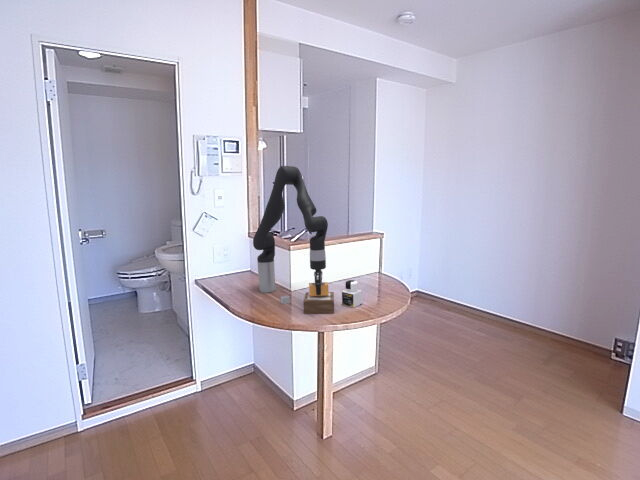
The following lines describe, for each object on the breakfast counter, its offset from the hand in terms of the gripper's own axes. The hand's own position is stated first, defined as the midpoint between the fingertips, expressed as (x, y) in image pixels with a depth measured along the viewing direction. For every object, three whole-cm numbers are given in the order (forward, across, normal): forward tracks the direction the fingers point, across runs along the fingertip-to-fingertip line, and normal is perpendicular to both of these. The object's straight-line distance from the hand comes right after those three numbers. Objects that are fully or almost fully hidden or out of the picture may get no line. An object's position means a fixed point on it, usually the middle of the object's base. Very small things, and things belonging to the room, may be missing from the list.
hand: (318, 292), depth 181 cm
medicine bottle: (+8, +5, -16) cm, 19 cm away
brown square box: (+8, 0, 0) cm, 8 cm away
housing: (+1, 0, 0) cm, 1 cm away
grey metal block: (+8, +10, +18) cm, 22 cm away
